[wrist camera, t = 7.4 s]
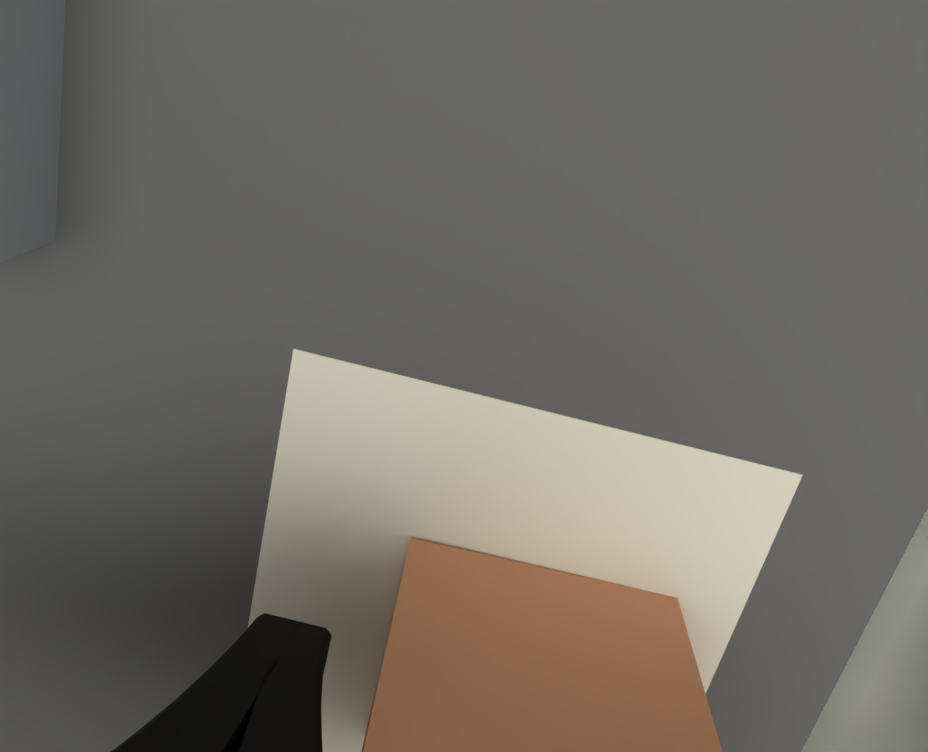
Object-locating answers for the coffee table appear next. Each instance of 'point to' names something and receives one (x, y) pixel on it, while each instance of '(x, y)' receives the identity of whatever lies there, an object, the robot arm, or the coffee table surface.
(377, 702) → the terracotta block
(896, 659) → the coffee table surface
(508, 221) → the mat
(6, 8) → the slate block
